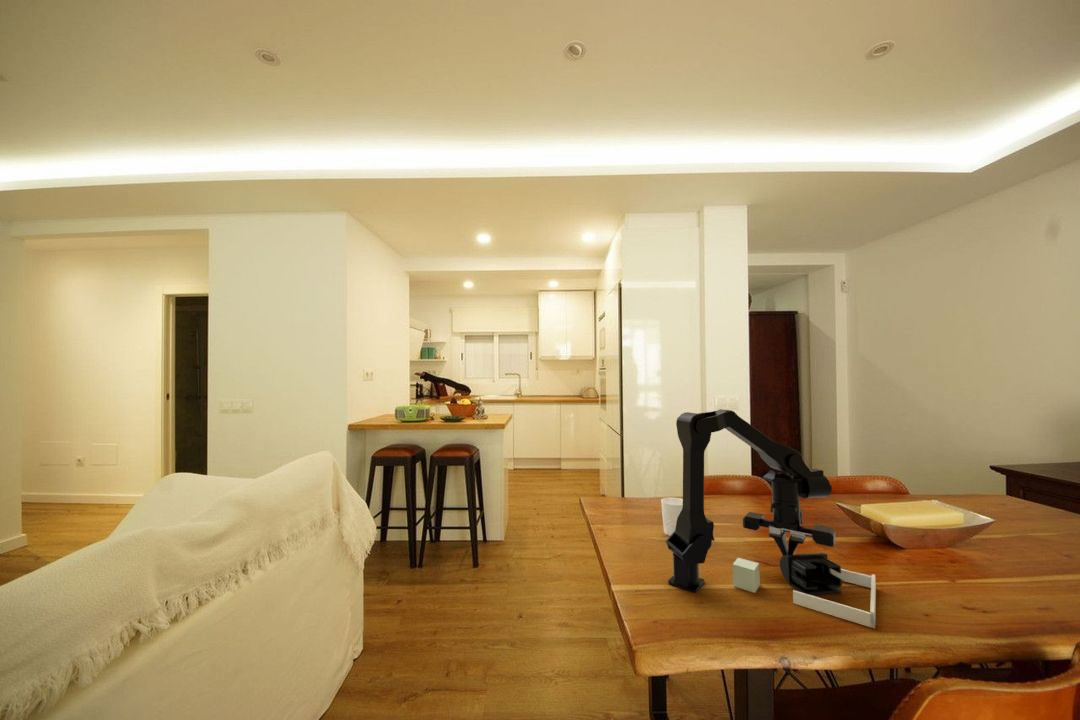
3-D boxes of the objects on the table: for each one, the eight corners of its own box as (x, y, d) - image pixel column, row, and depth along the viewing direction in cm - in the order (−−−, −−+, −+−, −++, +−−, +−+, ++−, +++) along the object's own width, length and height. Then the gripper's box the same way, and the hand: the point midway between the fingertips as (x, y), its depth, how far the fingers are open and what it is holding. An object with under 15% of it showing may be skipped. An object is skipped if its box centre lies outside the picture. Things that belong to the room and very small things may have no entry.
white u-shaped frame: (875, 628, 73) (874, 612, 74) (793, 603, 82) (792, 588, 82) (875, 588, 88) (875, 574, 88) (806, 570, 97) (805, 558, 97)
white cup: (684, 540, 116) (683, 506, 116) (658, 534, 120) (657, 501, 121) (691, 532, 122) (690, 500, 122) (667, 527, 127) (666, 496, 127)
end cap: (817, 577, 93) (816, 548, 94) (844, 593, 86) (842, 561, 87) (779, 579, 92) (778, 550, 93) (803, 596, 85) (801, 564, 85)
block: (755, 593, 86) (754, 570, 87) (733, 586, 89) (732, 564, 90) (759, 585, 90) (758, 563, 90) (738, 579, 93) (737, 557, 93)
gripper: (835, 498, 95) (839, 563, 95) (751, 485, 108) (753, 543, 107) (831, 509, 87) (835, 581, 86) (741, 494, 99) (743, 557, 98)
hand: (788, 563), depth 95 cm, fingers closed
